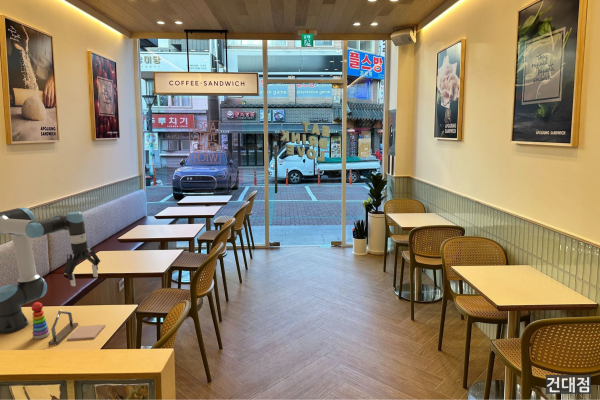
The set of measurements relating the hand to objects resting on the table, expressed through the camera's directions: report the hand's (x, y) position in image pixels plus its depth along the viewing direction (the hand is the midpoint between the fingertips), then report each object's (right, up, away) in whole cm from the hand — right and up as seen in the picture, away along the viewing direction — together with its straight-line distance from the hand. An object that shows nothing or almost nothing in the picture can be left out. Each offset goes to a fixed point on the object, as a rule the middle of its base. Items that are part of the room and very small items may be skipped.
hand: (84, 281), depth 243 cm
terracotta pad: (0, -28, +3) cm, 28 cm away
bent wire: (-12, -29, +3) cm, 31 cm away
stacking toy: (-24, -30, +3) cm, 39 cm away
